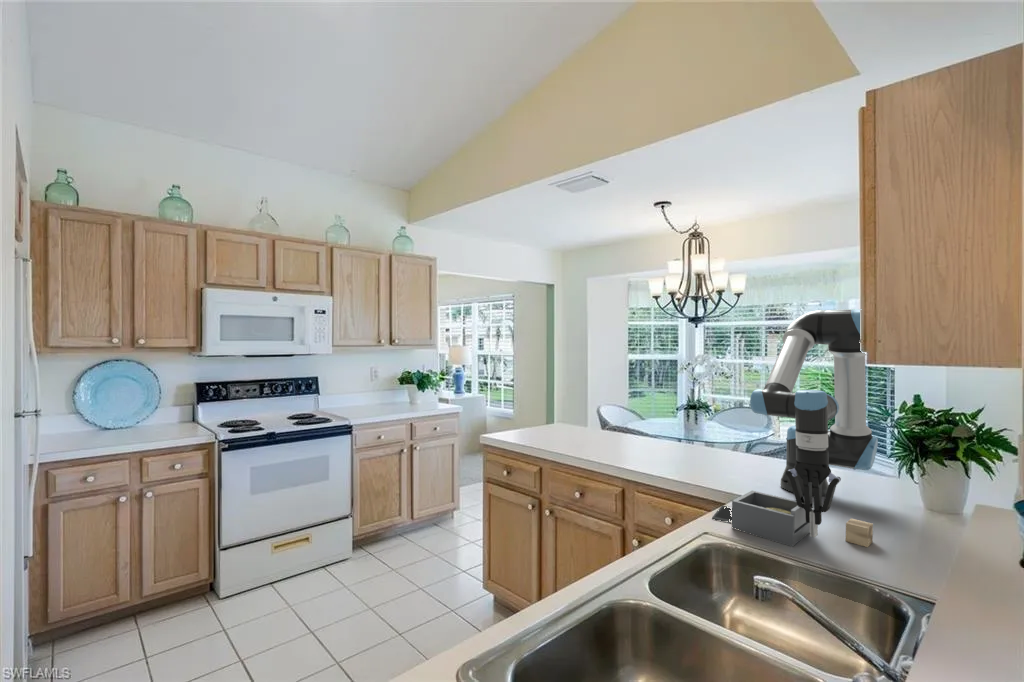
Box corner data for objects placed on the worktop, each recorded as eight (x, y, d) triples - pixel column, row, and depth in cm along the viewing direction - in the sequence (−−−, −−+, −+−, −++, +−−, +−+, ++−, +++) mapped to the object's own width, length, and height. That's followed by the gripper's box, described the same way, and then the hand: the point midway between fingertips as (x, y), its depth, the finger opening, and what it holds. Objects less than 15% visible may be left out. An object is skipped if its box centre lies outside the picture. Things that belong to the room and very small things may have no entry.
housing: (751, 516, 152) (752, 490, 152) (809, 532, 140) (810, 504, 140) (731, 528, 143) (732, 500, 143) (792, 546, 131) (792, 516, 131)
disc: (798, 518, 140) (798, 513, 140) (787, 526, 135) (788, 520, 135) (768, 511, 146) (768, 505, 146) (757, 517, 140) (757, 512, 140)
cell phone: (711, 520, 150) (711, 517, 150) (722, 507, 161) (722, 504, 161) (737, 526, 145) (737, 523, 145) (746, 512, 157) (746, 510, 157)
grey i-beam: (754, 509, 149) (754, 491, 149) (805, 522, 139) (806, 503, 139) (741, 516, 143) (741, 497, 143) (794, 531, 133) (794, 511, 133)
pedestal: (850, 536, 138) (851, 518, 138) (872, 541, 134) (872, 523, 134) (845, 541, 134) (846, 523, 134) (867, 547, 131) (868, 528, 131)
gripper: (781, 446, 136) (783, 533, 136) (835, 453, 127) (837, 546, 126) (791, 442, 141) (792, 525, 141) (843, 448, 132) (845, 537, 132)
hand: (813, 535), depth 134 cm, fingers closed
